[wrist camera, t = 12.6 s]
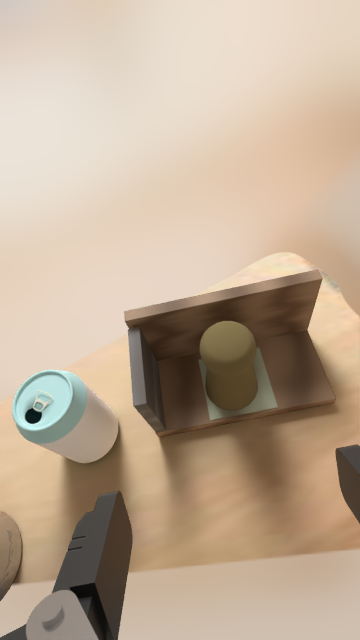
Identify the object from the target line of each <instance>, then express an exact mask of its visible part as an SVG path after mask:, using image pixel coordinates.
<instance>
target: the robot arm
mask: <svg viewBox="0 0 360 640" xmlns="http://www.w3.org/2000/svg"><path fill="white" fill-rule="evenodd" d="M336 461H337V468H338V475H339V482H340V488H341V491H342V494H343V497H344V499H345V501H346V503H347V505H348V506H349V508H350V509H351V511H352V512H353V514H354V515H355V517H356V518H357V520H358V522H359V523H360V446H359V445H352V446H347V447H342V448H337V449H336ZM131 549H132V529H131V524H130V521H129V517H128V514H127V510H126V507H125V504H124V500H123V497H122V494H121V492H120V491H116V492H111V493H106V494H101V495H99V496H98V499H97V502H96V505H95V508H94V511H92V512H87V513H86V514H85V515H84V516H83V518H82V519H81V520H80V521H79V523H78V524H77V526H76V528H75V531H74V534H73V536H72V541H71V542H70V545H69V547H68V552H67V553H66V556H65V558H64V561H63V564H62V567H61V569H60V572H59V575H58V578H57V580H56V583H55V586H54V589H53V591H52V594H50V595H49V596H47V597H46V598H45V599H43V600H42V601H41V602H40V603H39V604H38V605H37V606H36V607H35V609H34V610H33V612H32V613H31V615H30V617H29V619H28V621H27V624H25V625H24V626H22V627H20V628H18V629H16V630H14V631H12V632H10V633H8V634H6V635H4V636H2V637H1V638H0V640H118V632H119V627H120V620H121V614H122V607H123V601H124V594H125V587H126V581H127V575H128V568H129V562H130V555H131ZM21 552H22V542H21V536H20V532H19V530H18V527H17V525H16V523H15V522H14V521H13V519H12V518H11V517H10V516H8V515H7V514H6V513H3V512H0V601H1V600H2V599H3V597H4V596H5V594H6V593H7V591H8V590H9V589H10V587H11V585H12V583H13V581H14V579H15V577H16V574H17V571H18V568H19V565H20V559H21Z"/></svg>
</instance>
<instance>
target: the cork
mask: <svg viewBox="0 0 360 640" xmlns="http://www.w3.org/2000/svg"><path fill="white" fill-rule="evenodd" d="M200 354H201V357H202V361H203V362H204V363H205V365H206V366H207V371H206V384H205V389H206V393H207V396H208V397H209V399H210V400H211V402H212V403H214V404H215V405H216V406H217V407H219V408H222V409H224V410H231V411H236V410H240V409H243V408H245V407H246V406H248V405H250V404H251V402H252V401H253V400H254V399H255V397H256V394H257V391H258V381H257V378H256V374H255V371H254V367H253V361H254V358H255V356H256V342H255V339H254V336H253V334H252V333H251V332H250V331H249V329H248V328H247V327H245V326H244V325H242V324H240V323H237V322H234V321H222V322H218V323H216V324H214V325H212V326H211V327H209V328H208V329H207V330H206V331H205V332H204V334H203V336H202V339H201V341H200Z"/></svg>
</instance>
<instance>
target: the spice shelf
mask: <svg viewBox="0 0 360 640" xmlns="http://www.w3.org/2000/svg"><path fill="white" fill-rule="evenodd" d="M322 279H323V278H322V276H321V274H320V272H319V270H313V271H309V272H304V273H299V274H295V275H290V276H286V277H281V278H276V279H272V280H267V281H262V282H258V283H253V284H249V285H244V286H239V287H235V288H230V289H226V290H221V291H216V292H212V293H207V294H203V295H198V296H193V297H189V298H184V299H179V300H175V301H171V302H166V303H161V304H156V305H152V306H148V307H143V308H139V309H133V310H129V311H125V312H124V314H125V322H126V324H127V326H128V327H129V329H128V337H129V351H130V365H131V379H132V393H133V406H134V407H135V408H136V409H137V411H138V412H139V413H140V414H141V415H142V417H143V418H144V419H145V420H146V421H147V422H148V424H149V425H150V426H151V427H152V428H153V429H154V431H155V432H156V434H157V436H158V437H161V436H166V435H171V434H176V433H181V432H186V431H192V430H197V429H202V428H207V427H212V426H217V425H222V424H227V423H233V422H238V421H243V420H248V419H253V418H258V417H263V416H269V415H274V414H279V413H284V412H289V411H294V410H299V409H305V408H310V407H315V406H320V405H325V404H330V403H333V402H334V400H335V399H336V398H335V396H334V393H333V391H332V388H331V386H330V384H329V381H328V379H327V376H326V374H325V372H324V369H323V367H322V364H321V362H320V360H319V357H318V355H317V352H316V350H315V348H314V345H313V343H312V340H311V338H310V336H309V333H308V331H307V329H308V326H309V323H310V319H311V316H312V312H313V309H314V306H315V302H316V299H317V296H318V292H319V289H320V285H321V282H322ZM222 321H234V322H237V323H240V324H242V325H244V326H245V327H247V328H248V329H249V331H250V332H251V333H252V334H253V336H254V339H255V342H256V356H255V358H254V361H253V367H254V371H255V374H256V378H257V381H258V391H257V394H256V397H255V399H254V400H253V401H252V402H251V404H250V405H248V406H246V407H245V408H243V409H240V410H236V411H231V410H224V409H222V408H219V407H217V406H216V405H215V404H214V403H212V402H211V400H210V399H209V397H208V396H207V393H206V389H205V384H206V371H207V366H206V365H205V363H204V362H203V361H202V357H201V354H200V341H201V339H202V336H203V334H204V332H205V331H206V330H207V329H208V328H209V327H211V326H212V325H214V324H216V323H218V322H222Z"/></svg>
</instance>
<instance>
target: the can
mask: <svg viewBox="0 0 360 640" xmlns="http://www.w3.org/2000/svg"><path fill="white" fill-rule="evenodd" d="M12 414H13V418H14V420H15V422H16V426H17V428H18V430H19V432H20V433H21V435H22V436H23V437H24V438H25V439H27V440H29V441H31V442H33V443H35V444H37V445H40V446H42V447H44V448H46V449H49V450H51V451H53V452H55V453H57V454H60V455H62V456H64V457H66V458H69V459H71V460H73V461H75V462H79V463H90V462H94V461H96V460H98V459H100V458H102V457H103V456H104V455H105V454H106V453H107V452H108V451H109V450H110V449H111V448H112V446H113V444H114V443H115V441H116V438H117V434H118V420H117V417H116V414H115V413H114V411H113V410H112V409H111V408H110V407H109V406H108V405H107V404H106V403H105V402H104V401H103V400H102V399H101V398H100V397H99V396H98V395H97V394H96V393H95V392H94V391H93V390H91V389H90V388H89V387H88V386H87V385H86V384H85V383H84V382H83V381H82V380H81V379H80V378H79V377H78V376H76V375H75V374H73V373H71V372H68V371H62V370H58V371H57V370H45V371H41V372H38V373H36V374H34V375H33V376H31V377H30V378H29V379H27V380H26V381H25V382H24V383H23V384H22V385H21V387H20V388H19V389H18V391H17V393H16V395H15V397H14V400H13V404H12Z"/></svg>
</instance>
